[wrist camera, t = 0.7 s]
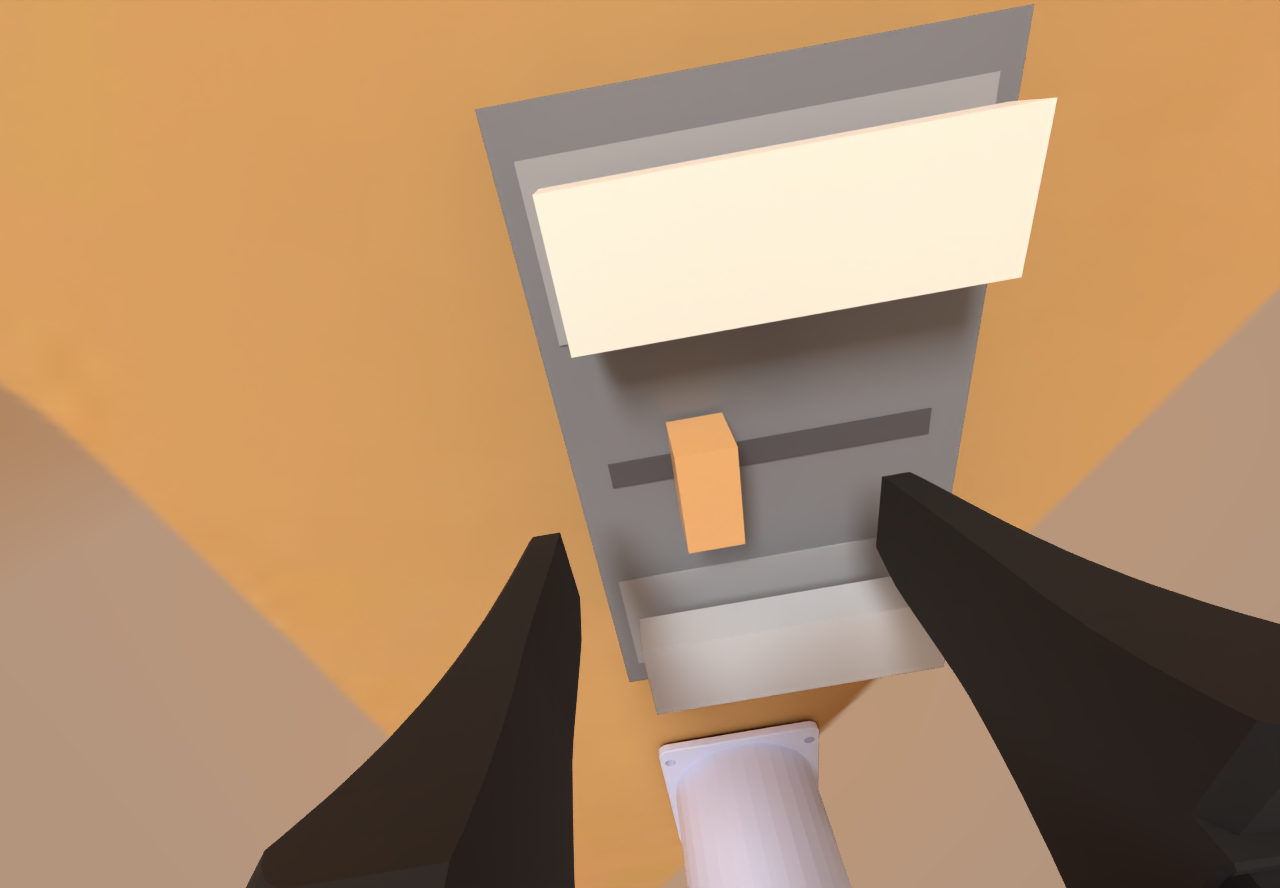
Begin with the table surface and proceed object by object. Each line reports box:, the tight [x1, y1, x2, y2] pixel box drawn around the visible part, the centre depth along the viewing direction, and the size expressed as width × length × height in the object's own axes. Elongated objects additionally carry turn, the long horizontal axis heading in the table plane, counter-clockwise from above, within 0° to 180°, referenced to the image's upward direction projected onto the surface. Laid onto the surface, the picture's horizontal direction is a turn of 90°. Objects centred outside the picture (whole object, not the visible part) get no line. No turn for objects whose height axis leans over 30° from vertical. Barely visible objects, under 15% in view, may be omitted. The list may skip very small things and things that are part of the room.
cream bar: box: [532, 98, 1057, 358], centre depth 10 cm, size 3×9×1 cm, turn 99°
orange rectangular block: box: [666, 412, 745, 554], centre depth 14 cm, size 3×2×2 cm, turn 9°
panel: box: [475, 4, 1034, 682], centre depth 16 cm, size 18×11×3 cm, turn 9°
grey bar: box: [639, 577, 945, 715], centre depth 16 cm, size 3×9×1 cm, turn 99°
